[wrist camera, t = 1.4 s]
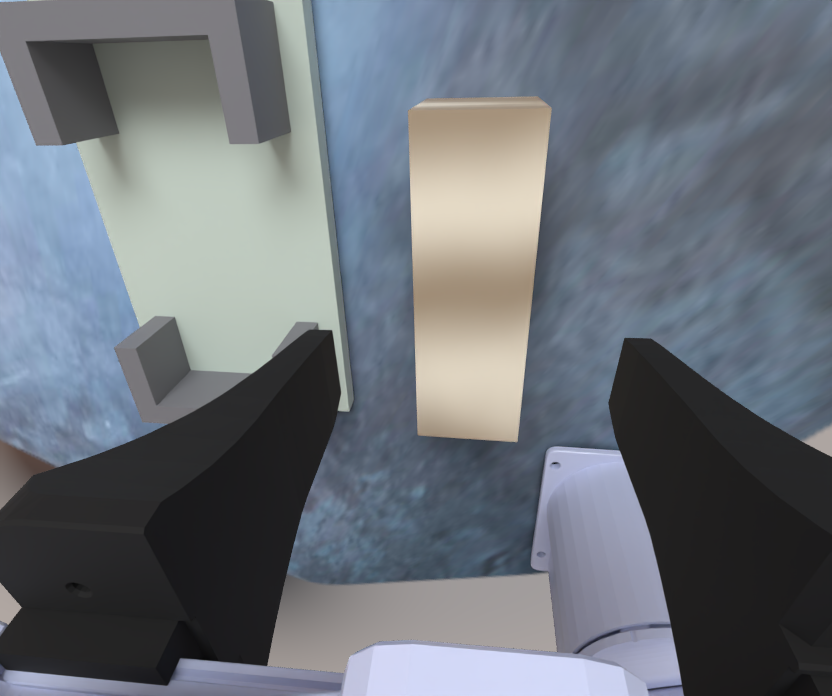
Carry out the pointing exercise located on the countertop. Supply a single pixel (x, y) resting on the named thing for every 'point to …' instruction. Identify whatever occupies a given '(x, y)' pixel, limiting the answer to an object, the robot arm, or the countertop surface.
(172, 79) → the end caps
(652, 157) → the countertop surface
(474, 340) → the slat
